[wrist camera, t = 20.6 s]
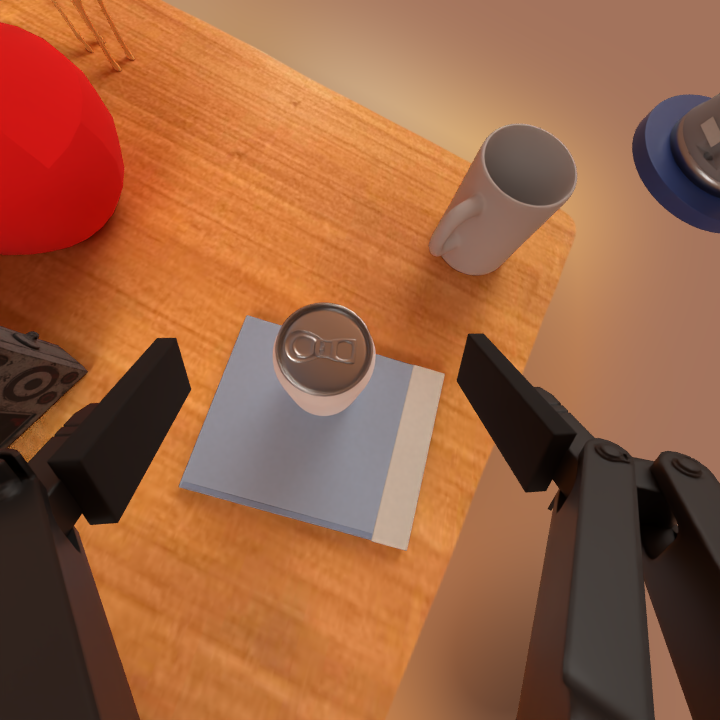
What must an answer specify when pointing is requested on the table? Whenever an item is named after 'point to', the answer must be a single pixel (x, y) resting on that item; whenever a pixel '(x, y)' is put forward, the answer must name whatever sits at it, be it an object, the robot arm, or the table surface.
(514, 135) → the mug
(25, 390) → the camera
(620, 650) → the robot arm
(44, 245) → the vase
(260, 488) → the blue flat rectangular slab
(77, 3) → the giraffe
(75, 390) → the table surface
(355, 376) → the can
